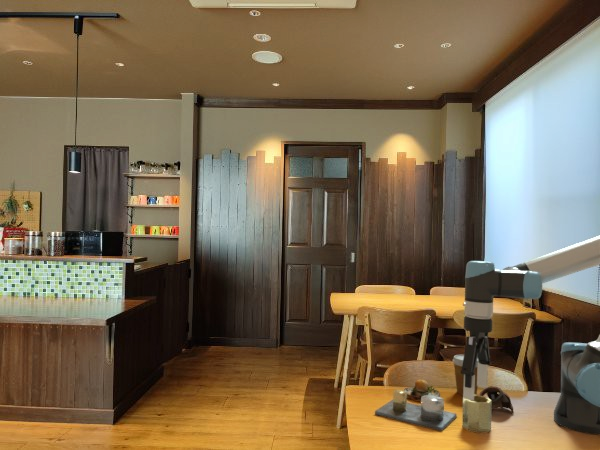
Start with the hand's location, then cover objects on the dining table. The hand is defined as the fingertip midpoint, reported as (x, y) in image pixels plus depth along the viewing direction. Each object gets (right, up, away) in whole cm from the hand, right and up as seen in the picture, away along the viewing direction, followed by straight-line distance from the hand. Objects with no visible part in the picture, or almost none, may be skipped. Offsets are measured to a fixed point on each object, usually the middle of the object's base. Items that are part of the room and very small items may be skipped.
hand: (475, 392), depth 136 cm
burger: (-9, -10, +25) cm, 29 cm away
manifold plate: (-15, -9, +8) cm, 19 cm away
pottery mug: (+11, -11, +14) cm, 21 cm away
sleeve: (0, -10, 0) cm, 10 cm away
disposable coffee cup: (+8, -11, +30) cm, 33 cm away
